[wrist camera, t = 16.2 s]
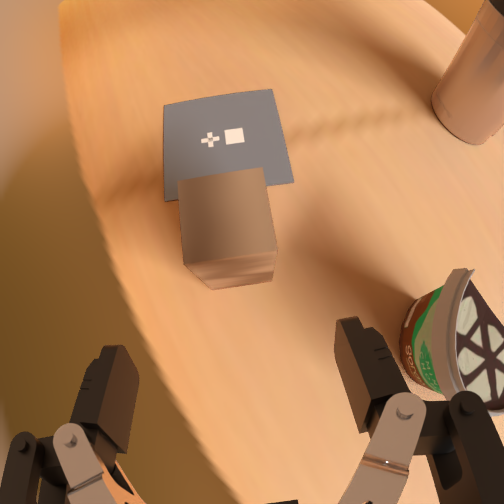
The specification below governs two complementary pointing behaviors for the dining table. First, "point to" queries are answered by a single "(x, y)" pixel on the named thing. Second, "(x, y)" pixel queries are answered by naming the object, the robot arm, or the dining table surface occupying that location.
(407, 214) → the dining table surface
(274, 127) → the tile
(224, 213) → the walnut block
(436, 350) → the food container
